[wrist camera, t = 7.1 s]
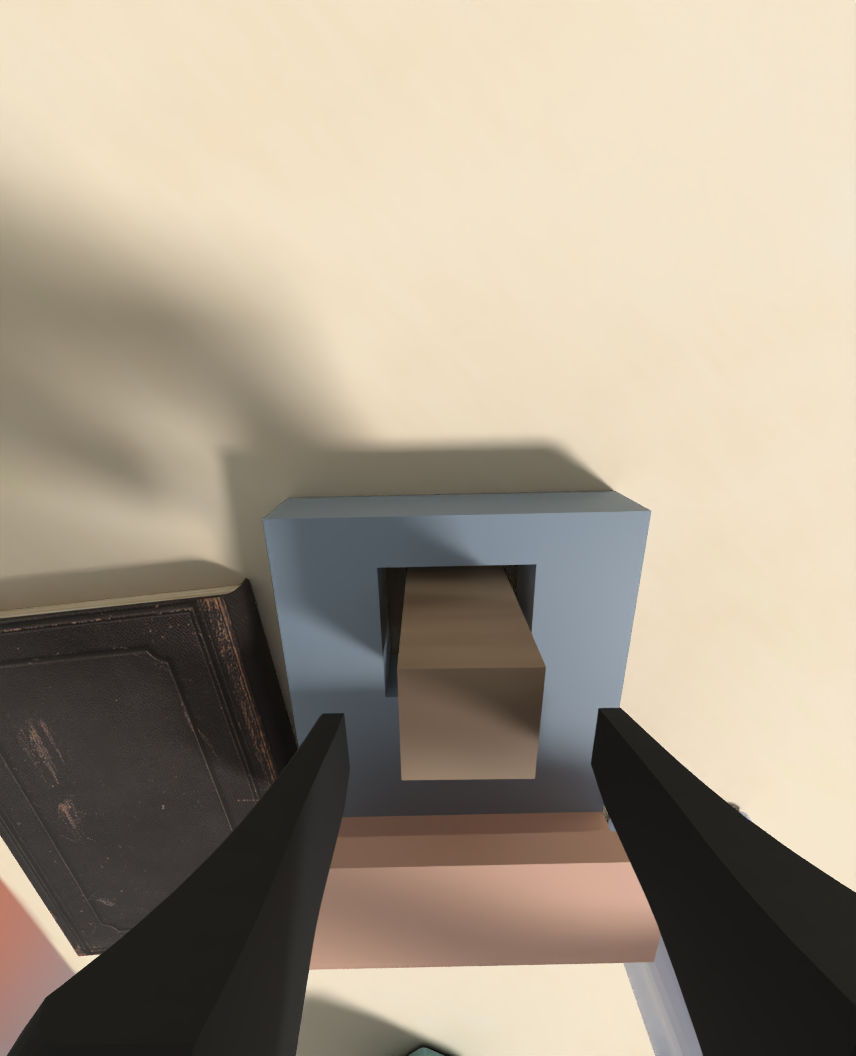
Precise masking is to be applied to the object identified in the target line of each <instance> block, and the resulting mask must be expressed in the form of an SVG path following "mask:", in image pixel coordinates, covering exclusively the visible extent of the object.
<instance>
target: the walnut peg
mask: <svg viewBox="0 0 856 1056" xmlns="http://www.w3.org/2000/svg"><path fill="white" fill-rule="evenodd" d="M545 673H546V666H545V664H544V661H543V659H542V657H541V654H540V652H539V650H538V647H537V645H536V643H535V640H534V638H533V636H532V633H531V631H530V629H529V626H528V624H527V622H526V619H525V617H524V615H523V613H522V610H521V608H520V606H519V603H518V601H517V599H516V596H515V594H514V592H513V589H512V587H511V585H510V582H509V580H508V578H507V575H506V573H505V571H504V568H503V566H502V565H480V566H434V567H407V574H406V584H405V594H404V605H403V615H402V625H401V635H400V646H399V656H398V666H397V676H398V702H399V728H400V755H401V780H472V779H535V772H536V762H537V752H538V742H539V732H540V722H541V713H542V703H543V693H544V683H545Z"/></svg>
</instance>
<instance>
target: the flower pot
mask: <svg viewBox="0 0 856 1056" xmlns="http://www.w3.org/2000/svg"><path fill="white" fill-rule="evenodd" d="M409 1056H444V1055H442V1054H440V1053H437V1052H435V1051H433V1050H431V1049H428V1048H425V1047H424V1048H420V1049H418V1050H416V1051H415V1052H413V1053H412V1054H410V1055H409Z"/></svg>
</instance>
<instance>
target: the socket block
mask: <svg viewBox="0 0 856 1056" xmlns="http://www.w3.org/2000/svg"><path fill="white" fill-rule="evenodd" d="M650 515H651V511H650V510H649V509H647V508H645V507H643V506H641V505H640V504H638V503H636V502H634V501H632V500H630V499H629V498H627V497H625V496H623V495H621V494H620V493H618V492H616V491H587V492H541V493H494V494H448V495H401V496H355V497H308V498H288V499H287V500H285V501H284V502H283V503H282V504H280V505H279V506H278V507H277V508H276V509H274V510H273V511H272V512H271V513H270V514H268V515H267V516H266V517H265V518H263V519H262V520H263V526H264V532H265V539H266V545H267V551H268V558H269V564H270V570H271V577H272V583H273V589H274V596H275V602H276V608H277V615H278V621H279V627H280V634H281V640H282V646H283V652H284V659H285V665H286V671H287V678H288V684H289V690H290V697H291V703H292V709H293V716H294V722H295V728H296V735H297V741H298V747H300V745H301V744H302V742H303V741H304V739H305V738H306V736H307V735H308V733H309V732H310V730H311V729H312V727H313V726H314V724H315V723H316V721H317V720H318V718H319V717H320V716H321V715H322V714H323V713H344V716H345V725H346V734H347V744H348V753H349V763H350V773H349V780H348V787H347V794H346V801H345V808H344V812H343V817H379V816H425V815H472V814H518V813H564V812H602V811H603V805H604V803H603V800H602V797H601V794H600V791H599V788H598V785H597V782H596V779H595V775H594V772H593V769H592V766H591V758H592V751H593V744H594V737H595V730H596V723H597V715H598V708H619V706H620V700H621V694H622V688H623V682H624V676H625V669H626V663H627V657H628V651H629V645H630V639H631V632H632V626H633V620H634V614H635V608H636V602H637V595H638V589H639V583H640V577H641V571H642V565H643V558H644V552H645V546H646V540H647V534H648V528H649V521H650ZM480 565H518V569H517V587H516V599H517V601H518V603H519V606H520V608H521V610H522V613H523V615H524V617H525V619H526V622H527V624H528V626H529V629H530V631H531V633H532V636H533V638H534V640H535V643H536V645H537V647H538V650H539V652H540V654H541V657H542V659H543V661H544V664H545V666H546V673H545V683H544V693H543V703H542V713H541V722H540V732H539V742H538V752H537V762H536V772H535V779H472V780H401V755H400V728H399V702H398V676H397V666H398V656H399V654H391V646H390V629H389V612H388V595H387V577H386V568H387V567H434V566H480Z"/></svg>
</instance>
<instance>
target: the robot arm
mask: <svg viewBox="0 0 856 1056" xmlns="http://www.w3.org/2000/svg"><path fill="white" fill-rule="evenodd" d="M591 766H592V769H593V772H594V775H595V779H596V782H597V785H598V788H599V791H600V794H601V797H602V800H603V803H604V805H605V807H606V810H607V812H608V814H609V816H610V819H609V821H608V826H609V829H610V831H616V832H617V834H618V837H619V839H620V841H621V843H622V845H623V848H624V850H625V852H626V854H627V857H628V859H629V861H630V863H631V865H632V868H633V870H634V872H635V874H636V876H637V879H638V881H639V883H640V885H641V887H642V890H643V892H644V894H645V896H646V898H647V901H648V903H649V906H650V908H651V910H652V913H653V915H654V918H655V920H656V923H657V925H658V928H659V931H660V934H661V937H660V940H659V944H658V948H657V952H656V956H655V960H654V962H636V963H624V966H625V969H626V972H627V975H628V978H629V981H630V983H631V986H632V989H633V992H634V995H635V998H636V1001H637V1004H638V1007H639V1010H640V1013H641V1015H642V1018H643V1021H644V1024H645V1027H646V1030H647V1033H648V1036H649V1039H650V1042H651V1044H652V1047H653V1050H654V1053H655V1055H656V1056H856V892H854V891H852V890H851V889H849V888H848V887H846V886H844V885H843V884H841V883H840V882H838V881H837V880H835V879H834V878H832V877H830V876H829V875H827V874H826V873H824V872H823V871H821V870H820V869H818V868H817V867H815V866H814V865H812V864H811V863H809V862H808V861H806V860H805V859H803V858H802V857H800V856H799V855H797V854H796V853H794V852H793V851H792V850H790V849H789V848H787V847H786V846H784V845H783V844H782V843H780V842H779V841H777V840H776V839H775V838H773V837H772V836H771V835H769V834H768V833H767V832H765V831H764V830H762V829H761V828H760V827H758V826H757V825H756V824H754V823H753V822H752V821H751V819H750V818H749V817H748V815H747V814H746V813H744V812H738V811H737V810H736V809H735V808H733V807H732V806H731V805H730V804H728V803H727V802H726V801H725V800H723V799H722V798H721V797H720V796H719V795H717V794H716V793H715V792H714V791H712V790H711V789H710V788H709V787H708V786H706V785H705V784H704V783H703V782H702V781H700V780H699V779H698V778H697V777H696V776H695V775H693V774H692V773H691V772H690V771H689V770H688V769H687V768H685V767H684V766H683V765H682V764H681V763H680V762H679V761H677V760H676V759H675V758H674V757H673V756H672V755H671V754H670V753H669V752H667V751H666V750H665V749H664V748H663V747H662V746H661V745H660V744H659V743H658V742H657V741H656V740H654V739H653V738H652V737H651V736H650V735H649V734H648V733H647V732H646V731H645V730H644V729H643V728H642V727H641V726H639V725H638V724H637V723H636V722H635V721H634V720H633V719H632V718H631V717H630V716H629V715H628V714H627V713H625V712H624V711H623V710H622V709H621V708H598V715H597V723H596V730H595V737H594V744H593V751H592V758H591ZM349 773H350V763H349V753H348V744H347V734H346V725H345V716H344V713H323V714H322V715H321V716H320V717H319V718H318V720H317V721H316V723H315V724H314V726H313V727H312V729H311V730H310V732H309V733H308V735H307V736H306V738H305V739H304V741H303V742H302V744H301V745H300V747H299V748H298V750H297V751H296V752H295V754H294V755H293V757H292V758H291V759H290V761H289V762H288V763H287V765H286V766H285V768H284V769H283V770H282V772H281V773H280V774H279V776H278V777H277V778H276V780H275V781H274V782H273V784H272V785H271V786H270V787H269V789H268V790H267V791H266V792H265V793H264V795H263V796H262V797H261V798H260V800H259V801H258V802H257V803H256V805H255V806H254V807H253V808H252V809H251V811H250V812H249V813H248V814H247V815H246V817H245V818H244V819H243V820H242V821H241V822H240V823H239V825H238V826H237V827H236V828H235V829H234V830H233V831H232V832H231V834H230V835H229V836H228V837H227V838H226V839H225V840H224V841H223V842H222V843H221V844H220V845H219V846H218V848H217V849H216V850H215V851H214V852H213V853H212V854H211V855H210V856H209V857H208V858H207V859H206V860H205V861H204V862H203V863H202V864H201V865H200V866H199V867H198V868H197V869H196V870H195V871H194V872H193V873H192V874H191V875H190V876H189V877H188V878H187V879H186V880H185V881H184V882H183V883H182V884H181V885H180V886H178V887H177V888H176V889H175V890H174V891H173V892H172V893H171V894H170V895H169V896H168V897H167V898H166V899H164V900H163V901H162V902H161V903H160V904H159V905H158V906H157V907H155V908H154V909H153V910H152V911H151V912H150V913H149V914H148V915H146V916H145V917H144V918H143V919H142V920H141V921H140V922H139V923H137V924H136V925H135V926H134V927H133V928H132V929H131V930H130V931H128V932H127V933H126V934H125V935H124V936H123V937H121V938H120V939H119V940H118V941H117V942H115V943H114V944H113V945H112V946H111V947H109V948H108V949H107V950H106V951H104V952H103V953H102V954H101V955H99V956H98V957H97V958H96V959H94V960H93V961H92V962H91V963H89V964H88V965H87V966H85V967H84V968H83V969H82V970H80V971H79V972H78V973H77V974H75V975H74V976H73V977H72V978H71V979H69V980H68V981H67V982H65V983H64V984H63V985H62V986H60V987H59V988H58V989H56V990H55V991H54V992H52V993H51V994H50V995H49V996H47V997H46V998H45V1000H44V1001H43V1003H42V1004H41V1005H40V1007H39V1008H38V1010H37V1011H36V1013H35V1014H34V1016H33V1017H32V1018H31V1020H30V1021H29V1023H28V1024H27V1025H26V1027H25V1028H24V1030H23V1031H22V1033H21V1034H20V1036H19V1037H18V1039H17V1041H16V1042H15V1044H14V1045H13V1047H12V1049H11V1050H10V1052H9V1053H8V1055H7V1056H296V1049H297V1043H298V1036H299V1030H300V1023H301V1017H302V1010H303V1004H304V998H305V991H306V985H307V979H308V973H309V967H310V961H311V955H312V949H313V943H314V937H315V931H316V926H317V921H318V916H319V911H320V907H321V902H322V898H323V894H324V890H325V886H326V882H327V878H328V874H329V870H330V866H331V862H332V858H333V854H334V850H335V845H336V841H337V837H338V833H339V829H340V825H341V821H342V817H343V812H344V808H345V801H346V794H347V787H348V780H349Z"/></svg>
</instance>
